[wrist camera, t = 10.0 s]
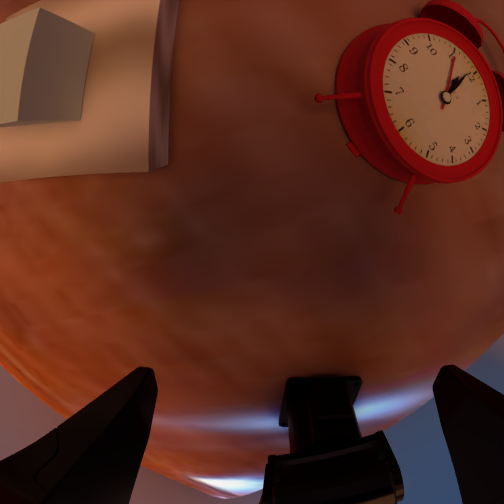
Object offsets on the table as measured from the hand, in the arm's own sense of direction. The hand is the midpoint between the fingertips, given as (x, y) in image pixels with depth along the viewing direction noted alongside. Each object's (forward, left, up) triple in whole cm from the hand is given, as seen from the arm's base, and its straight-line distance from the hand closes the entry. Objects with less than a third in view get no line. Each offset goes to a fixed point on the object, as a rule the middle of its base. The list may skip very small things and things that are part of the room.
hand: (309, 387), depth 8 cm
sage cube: (+10, +13, -8) cm, 19 cm away
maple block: (+11, +13, -12) cm, 21 cm away
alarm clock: (+11, -9, -12) cm, 19 cm away
